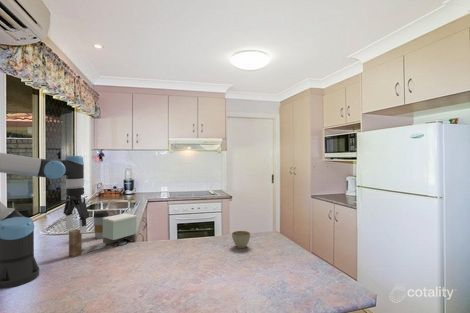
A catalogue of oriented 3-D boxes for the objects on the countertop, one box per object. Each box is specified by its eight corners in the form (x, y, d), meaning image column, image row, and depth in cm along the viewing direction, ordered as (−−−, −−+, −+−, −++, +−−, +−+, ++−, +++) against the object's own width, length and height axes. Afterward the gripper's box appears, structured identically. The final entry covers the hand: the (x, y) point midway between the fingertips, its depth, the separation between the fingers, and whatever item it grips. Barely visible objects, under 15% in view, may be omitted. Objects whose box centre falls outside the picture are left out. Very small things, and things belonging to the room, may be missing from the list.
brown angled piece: (72, 257, 126) (72, 232, 126) (68, 255, 128) (68, 231, 128) (107, 247, 140) (107, 224, 140) (102, 245, 142) (102, 223, 142)
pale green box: (113, 248, 138) (113, 220, 137) (102, 245, 143) (102, 217, 143) (136, 241, 149) (136, 215, 149) (125, 238, 155) (125, 213, 155)
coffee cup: (104, 239, 153) (104, 213, 153) (90, 239, 153) (90, 213, 153) (111, 235, 161) (111, 210, 161) (98, 235, 161) (98, 210, 161)
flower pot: (250, 243, 145) (250, 230, 145) (250, 250, 135) (250, 236, 135) (232, 243, 146) (232, 230, 146) (230, 249, 136) (230, 235, 136)
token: (120, 246, 142) (120, 243, 142) (115, 244, 145) (115, 242, 144) (128, 244, 146) (128, 241, 146) (123, 242, 149) (123, 239, 149)
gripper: (96, 187, 125) (97, 232, 125) (71, 184, 139) (71, 224, 139) (80, 189, 119) (80, 236, 119) (55, 186, 132) (56, 228, 133)
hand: (76, 230), depth 129 cm, fingers open, 13 cm apart
